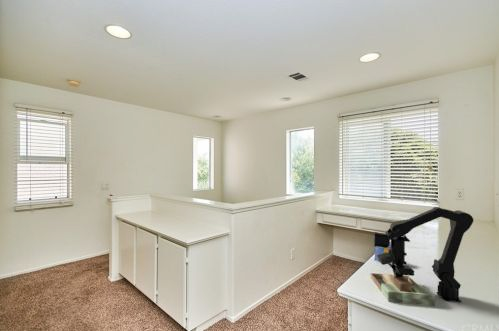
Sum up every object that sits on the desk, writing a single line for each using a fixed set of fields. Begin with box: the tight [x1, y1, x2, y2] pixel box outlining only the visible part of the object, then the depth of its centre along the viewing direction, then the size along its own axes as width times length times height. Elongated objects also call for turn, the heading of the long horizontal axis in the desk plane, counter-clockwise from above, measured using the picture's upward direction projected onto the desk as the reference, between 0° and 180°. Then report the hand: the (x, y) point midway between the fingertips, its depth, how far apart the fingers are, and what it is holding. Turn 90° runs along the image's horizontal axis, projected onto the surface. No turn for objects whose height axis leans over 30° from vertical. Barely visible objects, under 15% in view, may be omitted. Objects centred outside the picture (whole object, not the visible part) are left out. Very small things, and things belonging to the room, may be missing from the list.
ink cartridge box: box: [374, 241, 391, 264], centre depth 144 cm, size 10×6×14 cm, turn 40°
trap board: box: [370, 272, 436, 307], centre depth 110 cm, size 18×22×4 cm
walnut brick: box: [394, 276, 412, 292], centre depth 107 cm, size 4×7×4 cm, turn 170°
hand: (397, 281), depth 112 cm, fingers closed
